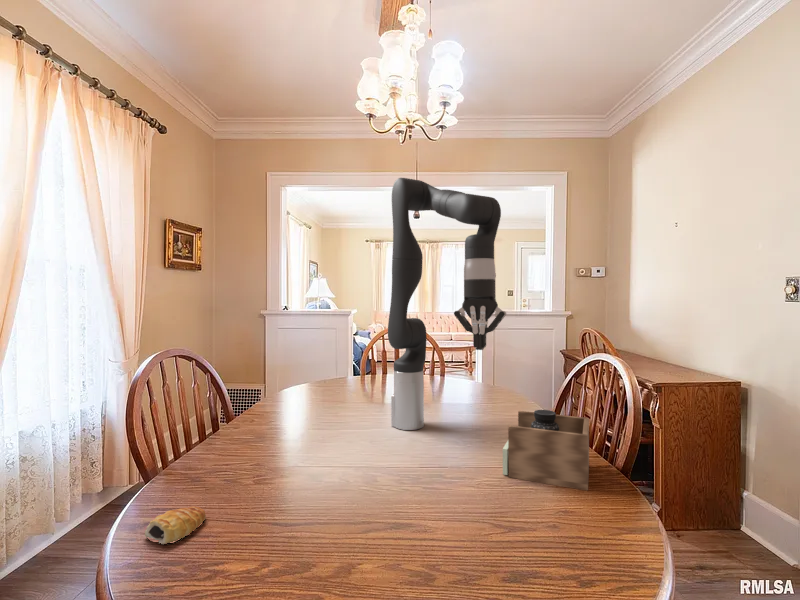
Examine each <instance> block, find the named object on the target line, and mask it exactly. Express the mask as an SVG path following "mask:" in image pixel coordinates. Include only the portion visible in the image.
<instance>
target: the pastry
mask: <svg viewBox="0 0 800 600" xmlns="http://www.w3.org/2000/svg"><path fill="white" fill-rule="evenodd" d="M205 517H207V515H206V511H205V509H203V508H201V507H199V506H194V505H193V506H189V507H180V508H177V509H171V510H167V511H165V513H163V514H159V515H156V516H155V518H154V519H153V520H150V522H149V524H148V525H147V526H146V530H145V531H144V536H145V537H146V538H147V537H149V538H153V539H155V540H159V541H158V542H159V543H158V544H160V543H161V545H164V544H166V543H170V542H173V541H176V540H178V539H181V538H182V539H183V538H186V537H185V536H186V535H188V534H189V533H191V532H192V531H193V530H195V529H196V528H197V527H198V526H199V525H200V524H201V523H202V522H203V521H204V520H205V521H206V518H205ZM205 521H204V522H205ZM196 530H197V529H196ZM196 530H195V531H196ZM182 539H181V540H182Z"/></svg>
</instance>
